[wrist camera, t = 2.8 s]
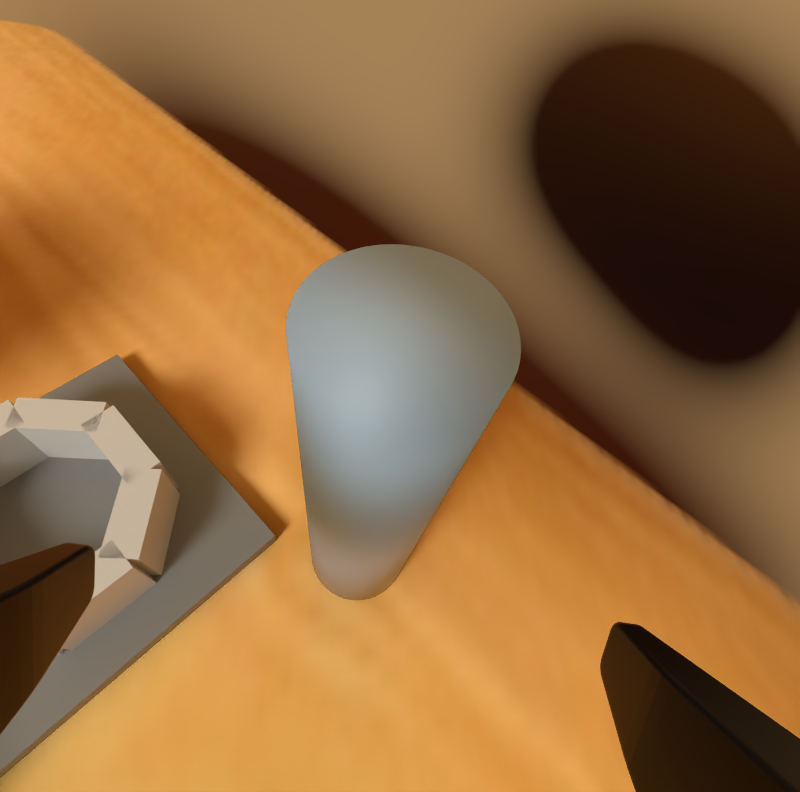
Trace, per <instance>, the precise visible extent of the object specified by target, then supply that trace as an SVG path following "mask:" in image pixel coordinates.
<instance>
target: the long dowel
mask: <svg viewBox="0 0 800 792" xmlns="http://www.w3.org/2000/svg"><path fill="white" fill-rule="evenodd" d="M286 336H287V344H288V353H289V362H290V371H291V379H292V388H293V397H294V406H295V415H296V423H297V432H298V441H299V450H300V458H301V467H302V476H303V485H304V493H305V502H306V511H307V520H308V528H309V537H310V546H311V555H312V563H313V567H314V570H315V572H316V575H317V577H318V578H319V580H320V581H321V583H322V584H323V585H324V586H325V587H326V588H327V589H328V590H329V591H331V592H332V593H334V594H335V595H337V596H340V597H342V598H345V599H350V600H364V599H369V598H372V597H375V596H377V595H379V594H381V593H382V592H383V591H385V590H386V589H387V588H388V587H389V586H390V585H391V584H392V583H393V582H394V581H395V579H396V578H397V576H398V574H399V573H400V571H401V569H402V568H403V566H404V564H405V563H406V561H407V559H408V558H409V556H410V554H411V552H412V551H413V549H414V547H415V546H416V544H417V542H418V541H419V539H420V537H421V536H422V534H423V532H424V531H425V529H426V527H427V526H428V524H429V522H430V521H431V519H432V517H433V516H434V514H435V512H436V511H437V509H438V507H439V506H440V504H441V502H442V501H443V499H444V497H445V495H446V494H447V492H448V490H449V489H450V487H451V485H452V484H453V482H454V480H455V479H456V477H457V475H458V474H459V472H460V470H461V469H462V467H463V465H464V464H465V462H466V460H467V459H468V457H469V455H470V454H471V452H472V450H473V449H474V447H475V445H476V444H477V442H478V440H479V439H480V437H481V435H482V433H483V432H484V430H485V428H486V427H487V425H488V423H489V422H490V420H491V418H492V417H493V415H494V413H495V412H496V410H497V408H498V407H499V405H500V403H501V402H502V400H503V398H504V397H505V395H506V393H507V392H508V390H509V388H510V387H511V385H512V383H513V381H514V378H515V376H516V374H517V371H518V367H519V362H520V355H521V341H520V334H519V329H518V326H517V322H516V320H515V317H514V315H513V313H512V311H511V309H510V307H509V305H508V304H507V302H506V301H505V299H504V298H503V297H502V295H501V294H500V292H499V291H498V290H497V289H496V288H495V287H494V286H493V285H492V284H491V283H490V282H489V281H488V280H487V279H486V278H484V277H483V276H482V275H481V274H480V273H478V272H477V271H475V270H474V269H472V268H471V267H470V266H468V265H466V264H464V263H462V262H461V261H459V260H457V259H454V258H452V257H450V256H448V255H445V254H442V253H439V252H437V251H433V250H430V249H426V248H421V247H415V246H408V245H394V244H391V245H390V244H389V245H374V246H368V247H363V248H358V249H354V250H351V251H348V252H346V253H343V254H340V255H338V256H336V257H334V258H332V259H330V260H328V261H327V262H325V263H324V264H322V265H321V266H319V267H318V268H317V269H315V270H314V271H313V272H312V273H311V274H310V275H309V276H308V277H307V278H306V279H305V280H304V282H303V283H302V284H301V285H300V287H299V288H298V290H297V292H296V293H295V295H294V297H293V299H292V302H291V304H290V307H289V311H288V315H287V322H286Z"/></svg>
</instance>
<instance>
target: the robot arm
mask: <svg viewBox="0 0 800 792" xmlns="http://www.w3.org/2000/svg"><path fill="white" fill-rule="evenodd" d="M94 585H95V551H94V548H93V547H92V546H90V545H85V544H78V543H71V542H66V543H63V544H60V545H57V546H54V547H51V548H48V549H45V550H42V551H39V552H36V553H33V554H30V555H27V556H24V557H21V558H18V559H16V560H13V561H10V562H7V563H4V564H1V565H0V735H1V733H2V732H3V731H4V729H5V728H6V727H7V725H8V724H9V723H10V722H11V720H12V719H13V718H14V716H15V715H16V714H17V712H18V711H19V710H20V709H21V707H22V706H23V705H24V703H25V702H26V701H27V699H28V698H29V696H30V695H31V694H32V692H33V691H34V690H35V688H36V687H37V685H38V684H39V682H40V681H41V679H42V678H43V676H44V675H45V673H46V671H47V670H48V668H49V667H50V665H51V663H52V662H53V660H54V659H55V657H56V656H57V654H58V652H59V651H60V649H61V648H62V646H63V644H64V643H65V641H66V640H67V638H68V637H69V635H70V633H71V632H72V630H73V629H74V627H75V626H76V624H77V622H78V621H79V619H80V618H81V616H82V614H83V613H84V611H85V610H86V608H87V607H88V605H89V603H90V601H91V599H92V596H93V593H94ZM600 669H601V676H602V680H603V684H604V687H605V691H606V694H607V698H608V701H609V705H610V709H611V712H612V716H613V719H614V723H615V727H616V730H617V734H618V737H619V741H620V745H621V748H622V752H623V755H624V758H625V762H626V765H627V768H628V771H629V774H630V777H631V779H632V782H633V785H634V788H635V790H636V792H800V739H799V738H798V737H796V736H795V735H794V734H792V733H791V732H789V731H788V730H787V729H785V728H784V727H782V726H781V725H780V724H778V723H777V722H775V721H774V720H773V719H771V718H770V717H768V716H767V715H765V714H764V713H763V712H761V711H760V710H758V709H757V708H756V707H754V706H753V705H751V704H750V703H749V702H747V701H746V700H744V699H743V698H742V697H740V696H739V695H737V694H736V693H735V692H733V691H732V690H730V689H729V688H727V687H726V686H725V685H723V684H722V683H720V682H719V681H718V680H716V679H715V678H713V677H712V676H711V675H709V674H708V673H706V672H705V671H704V670H702V669H701V668H699V667H698V666H696V665H695V664H694V663H692V662H691V661H689V660H688V659H687V658H685V657H684V656H682V655H681V654H680V653H678V652H677V651H675V650H674V649H673V648H671V647H670V646H668V645H667V644H665V643H664V642H663V641H661V640H660V639H658V638H657V637H656V636H654V635H653V634H651V633H650V632H649V631H647V630H646V629H644V628H643V627H641V626H639V625H637V624H630V623H622V622H617V623H615V624H614V625H613V626H612V628H611V630H610V633H609V637H608V640H607V643H606V646H605V649H604V652H603V655H602V659H601V665H600Z"/></svg>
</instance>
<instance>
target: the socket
mask: <svg viewBox="0 0 800 792" xmlns="http://www.w3.org/2000/svg"><path fill="white" fill-rule="evenodd" d="M276 540H277V539H276V536H275V535H274V534H273V533H272V531H271V530H270V529H269V528H268V527H267V526H266V524H265V523H264V522H263V521H262V520H261V519H260V518H259V516H258V515H257V514H256V513H255V512H254V511H253V510H252V508H251V507H250V506H249V505H248V504H247V503H246V502H245V500H244V499H243V498H242V497H241V496H240V495H239V494H238V492H237V491H236V490H235V489H234V488H233V487H232V485H231V484H230V483H229V482H228V481H227V480H226V479H225V477H224V476H223V475H222V474H221V473H220V472H219V471H218V469H217V468H216V467H215V466H214V465H213V464H212V463H211V461H210V460H209V459H208V458H207V457H206V456H205V455H204V453H203V452H202V451H201V450H200V449H199V448H198V446H197V445H196V444H195V443H194V442H193V441H192V440H191V438H190V437H189V436H188V435H187V434H186V433H185V432H184V430H183V429H182V428H181V427H180V426H179V425H178V424H177V422H176V421H175V420H174V419H173V418H172V417H171V416H170V414H169V413H168V412H167V411H166V410H165V409H164V408H163V406H162V405H161V404H160V403H159V402H158V401H157V399H156V398H155V397H154V396H153V395H152V394H151V393H150V391H149V390H148V389H147V388H146V387H145V386H144V385H143V383H142V382H141V381H140V380H139V379H138V378H137V377H136V375H135V374H134V373H133V372H132V371H131V370H130V369H129V367H128V366H127V365H126V364H125V363H124V362H123V360H122V359H121V358H120V357H119V356H118V355H116V356H114V357H112V358H110V359H108V360H107V361H105V362H103V363H101V364H100V365H98V366H96V367H94V368H92V369H91V370H89V371H87V372H85V373H83V374H82V375H80V376H78V377H76V378H74V379H73V380H71V381H69V382H67V383H65V384H64V385H62V386H60V387H58V388H57V389H55V390H53V391H51V392H49V393H48V394H46V395H44V396H42V397H40V398H21V397H17V400H16V402H15V404H12V403H11V402H10V401H9V400H7V401H5V402H3V403H1V404H0V565H1V564H4V563H7V562H10V561H13V560H16V559H18V558H21V557H24V556H27V555H30V554H33V553H36V552H39V551H42V550H45V549H48V548H51V547H54V546H57V545H60V544H63V543H66V542H71V543H78V544H85V545H90V546H92V547H93V548H94V551H95V585H94V593H93V596H92V599H91V601H90V603H89V605H88V607H87V608H86V610H85V611H84V613H83V614H82V616H81V618H80V619H79V621H78V622H77V624H76V626H75V627H74V629H73V630H72V632H71V633H70V635H69V637H68V638H67V640H66V641H65V643H64V644H63V646H62V648H61V649H60V651H59V652H58V654H57V656H56V657H55V659H54V660H53V662H52V663H51V665H50V667H49V668H48V670H47V671H46V673H45V675H44V676H43V678H42V679H41V681H40V682H39V684H38V685H37V687H36V688H35V690H34V691H33V692H32V694H31V695H30V696H29V698H28V699H27V701H26V702H25V703H24V705H23V706H22V707H21V709H20V710H19V711H18V712H17V714H16V715H15V716H14V718H13V719H12V720H11V722H10V723H9V724H8V725H7V727H6V728H5V729H4V731H3V732H2V733H1V735H0V777H1V776H3V775H4V774H5V773H6V772H7V771H8V770H10V769H11V768H12V767H13V766H14V765H15V764H17V763H18V762H19V761H20V760H21V759H22V758H24V757H25V756H26V755H27V754H28V753H29V752H31V751H32V750H33V749H34V748H35V747H36V746H38V745H39V744H40V743H41V742H42V741H43V740H44V739H46V738H47V737H48V736H49V735H50V734H51V733H53V732H54V731H55V730H56V729H57V728H58V727H60V726H61V725H62V724H63V723H64V722H65V721H67V720H68V719H69V718H70V717H71V716H72V715H74V714H75V713H76V712H77V711H78V710H79V709H81V708H82V707H83V706H84V705H85V704H86V703H87V702H89V701H90V700H91V699H92V698H93V697H94V696H96V695H97V694H98V693H99V692H100V691H101V690H103V689H104V688H105V687H106V686H107V685H108V684H110V683H111V682H112V681H113V680H114V679H115V678H117V677H118V676H119V675H120V674H121V673H122V672H124V671H125V670H126V669H127V668H128V667H129V666H131V665H132V664H133V663H134V662H135V661H136V660H137V659H139V658H140V657H141V656H142V655H143V654H144V653H146V652H147V651H148V650H149V649H150V648H151V647H153V646H154V645H155V644H156V643H157V642H158V641H160V640H161V639H162V638H163V637H164V636H165V635H167V634H168V633H169V632H170V631H171V630H172V629H174V628H175V627H176V626H177V625H178V624H179V623H181V622H182V621H183V620H184V619H185V618H186V617H187V616H189V615H190V614H191V613H192V612H193V611H194V610H196V609H197V608H198V607H199V606H200V605H201V604H203V603H204V602H205V601H206V600H207V599H208V598H210V597H211V596H212V595H213V594H214V593H215V592H217V591H218V590H219V589H220V588H221V587H222V586H224V585H225V584H226V583H227V582H228V581H229V580H231V579H232V578H233V577H234V576H235V575H236V574H237V573H239V572H240V571H241V570H242V569H243V568H244V567H246V566H247V565H248V564H249V563H250V562H251V561H253V560H254V559H255V558H256V557H257V556H258V555H260V554H261V553H262V552H263V551H264V550H265V549H267V548H268V547H269V546H270V545H271V544H272V543H274V542H275V541H276Z"/></svg>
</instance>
